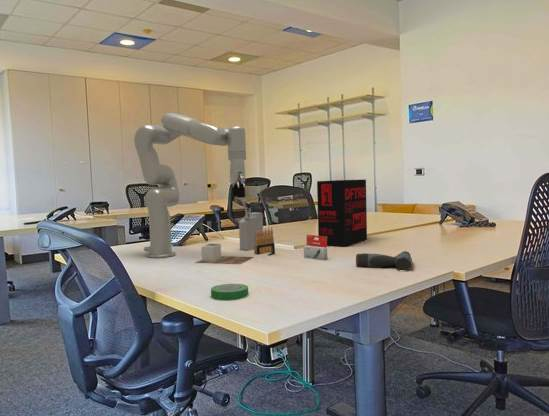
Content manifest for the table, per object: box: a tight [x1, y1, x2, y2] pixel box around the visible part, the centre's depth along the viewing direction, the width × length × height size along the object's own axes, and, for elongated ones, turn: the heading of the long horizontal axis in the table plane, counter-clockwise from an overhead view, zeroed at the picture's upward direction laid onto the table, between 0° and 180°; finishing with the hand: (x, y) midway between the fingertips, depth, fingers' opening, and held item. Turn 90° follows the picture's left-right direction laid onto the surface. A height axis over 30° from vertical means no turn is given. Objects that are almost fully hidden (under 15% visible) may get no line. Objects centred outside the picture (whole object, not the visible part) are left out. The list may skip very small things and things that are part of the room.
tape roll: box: [210, 283, 249, 301], centre depth 135 cm, size 11×11×3 cm
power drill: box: [355, 251, 413, 271], centre depth 172 cm, size 5×19×20 cm
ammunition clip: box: [253, 227, 276, 256], centre depth 202 cm, size 11×2×12 cm, turn 132°
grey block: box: [201, 243, 222, 261], centre depth 189 cm, size 5×8×6 cm, turn 163°
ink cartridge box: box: [303, 234, 329, 261], centre depth 190 cm, size 2×11×10 cm, turn 47°
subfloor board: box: [194, 255, 255, 265], centre depth 187 cm, size 20×16×1 cm
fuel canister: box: [238, 198, 264, 251], centre depth 222 cm, size 15×5×25 cm, turn 144°
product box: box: [316, 179, 368, 248], centre depth 232 cm, size 26×14×32 cm, turn 145°
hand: (238, 197), depth 192 cm, fingers open, 9 cm apart
